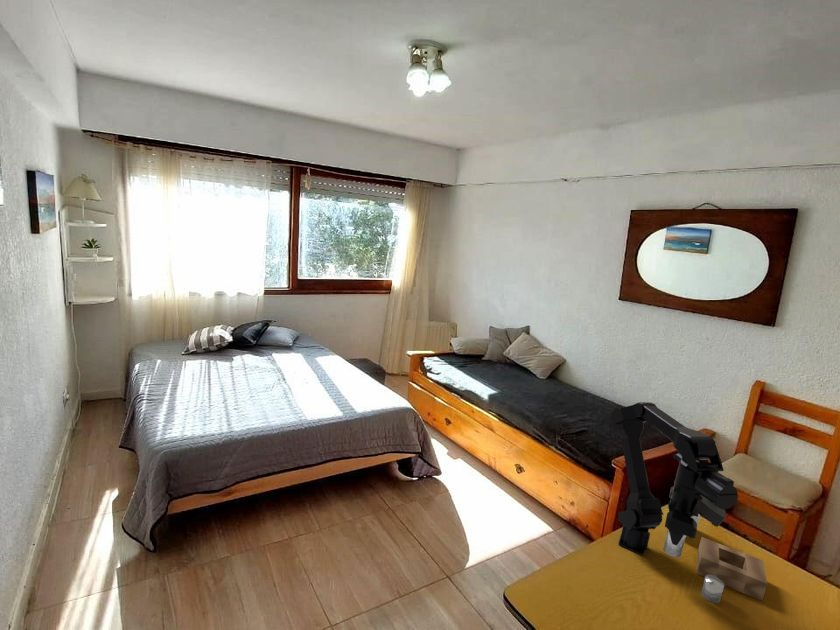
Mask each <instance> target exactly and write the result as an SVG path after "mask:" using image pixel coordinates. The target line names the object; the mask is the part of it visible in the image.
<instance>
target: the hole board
mask: <svg viewBox="0 0 840 630" xmlns="http://www.w3.org/2000/svg"><path fill="white" fill-rule="evenodd" d="M696 562H697V563H696V564H697V565H696V567H697V568H696V573H697V575H700V576H702V577H704V578H705V576H706V575H713V576H716V577H718V578H719V579H721V580H722V581H723V583H724V587H725V586H726V587H727V588H730V589H732V590H736V591H737V592H740V593H743V594H744V595H747V596H749V597H752V598H754V599H755V600H759V601H760V602H762V601H763V600H764V596H765V592H766V590H767V586H768V580H767V579H768V578H767V574H766V569H765V564H764V560H762V559H759V558H758V557H755V556H753V555H749V554H747V553H744V552H742V551H739V550H736V549H734V548H732V547H729V546H726V545H723V544H721V543H719V542H716V541H713V540H711V539H708V538H705V537H703V536H701V538H700V541H699V545H698V549H697V561H696Z"/></svg>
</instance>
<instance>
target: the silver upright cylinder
mask: <svg viewBox="0 0 840 630" xmlns="http://www.w3.org/2000/svg"><path fill="white" fill-rule="evenodd" d="M686 538H687V537H686V536H685V535H684V536H683V537H682V539H681V540H680V542H679V543H678V545H674V544H672V541H671V537H670V533H669V529H667V532H666V536H665V541H664V545H663V547H662V549H663V551H664V553H665V554H667V555H668V556H670V557H673V558H676V559H677V558H681V557H682V553H683V550H684V546H685V542H686Z"/></svg>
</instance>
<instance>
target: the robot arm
mask: <svg viewBox="0 0 840 630" xmlns="http://www.w3.org/2000/svg"><path fill="white" fill-rule="evenodd" d="M610 422H611V425H612V428H613V431H614V433H616V435H617V436H618V437H619V439H620V441H621V445H622V451H623V456H624V458H623V459H624V463H625V468H626V469H625V470H626V475H627V480H628V481H627V482H628V485H629V492H630V493H629V495H628V497H627V501H626V502H625V503H626V510H623V511H619V512H618V513H617V515H618V519H617V520H618V521H619V522H620V524H621V525H622V529H621V534H620V536H619V541H618V543H617V544H618V545H619V546H620V547H622V548H625V549H628V550H630V551H632V552H634V553H637V554H639V555H642V556H643V555H644V554H645V551H647V550H648V545H649V542H650V536H651V533H650V531H649V530H655V529H656V528H657V527H659V526H660V525H661V523H662V522H663V515H664V512H663V509H662V503H661V500H660V498H655V496H654V495H653V494H652V492H651V489H650V486H649V481H648V480H649V479H648V475H647V470H646V469H647V468H646V465H645V458H644V454H643V449H642V444H641V443H642V442H641V437H642V434H643V432H644V423H646V422H647V424H650V425H651V426H652V427H654V428H655V429H656V430H657V431H659V432H660V433H661V434H663V435H664V436H665V437H667V438H668V439H669V440H670V441H671V442H672V444H673V447H674V449H675V450H676V451H677V452H678V453H676V454H673V455H672V457H673V458H674V459H675V460H677V461H678V463H679V464H678V467H677V471H676V475H675V479H674V482H673V483H674V484H673V486H671V487H670V492H669V497H668V498H670V500H669V501H668V505H667V507H668V512H667V513H666V519H665V522H664V523H665V524H664V527H665V528H666V529H667V530H668V529H669V533H670V537H671V541H672V544H674V545H678V543H679V542H680V540H681V539H682V537H683V536H684V535H685V536H687V537H688V538H691V539H695V538H696V535H697V532H698V526H697V523H696V521H695V520H694V519H693V518H691V517H692V516H696V517H698V514H700V517H702V518H704V519H705V520H707V522H710V523H711V524H712V526H714V527H717V528H718V527H719V526H720V525H721V524H722V523H723V521H725V520H726V518H727V513H726V510H728V509H730V508H732V507H733V506H734V505H735V504H736V503H737V502H738V499H739V494H738V490H737V488H736V487H735V486H734V483H735V481H734V480H733V479H731V478H730V477H727V476H725V475H723V474H722V473H720V472H724V467H723V462H722V459H721V457H720V454H719V450H718V447H717V445H716V443H717V442H716V441H715V440H714V438H713V437H711V436H710V435H708V434H706V433H703V432H701V431H699V430H696V429H693V428H689V427H686V426H685V425H683V424H682V423H680V422H679V421H677V420H676V419H675V418H673V417H672V416H670V415H669V414H668V413H666V412H665V411H664V410H662V409H660V408H659V407H658V406H657V404H655V403H653V402H650V401H649V402H646V401H645V402H644V401H643V402H642V401H640V402H637V403H634V404H632V405H627V406H624V407H615V408H613V410H612V411H611V413H610ZM704 460H705V461H707V460H708V461H710V462H700V461H704Z"/></svg>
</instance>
